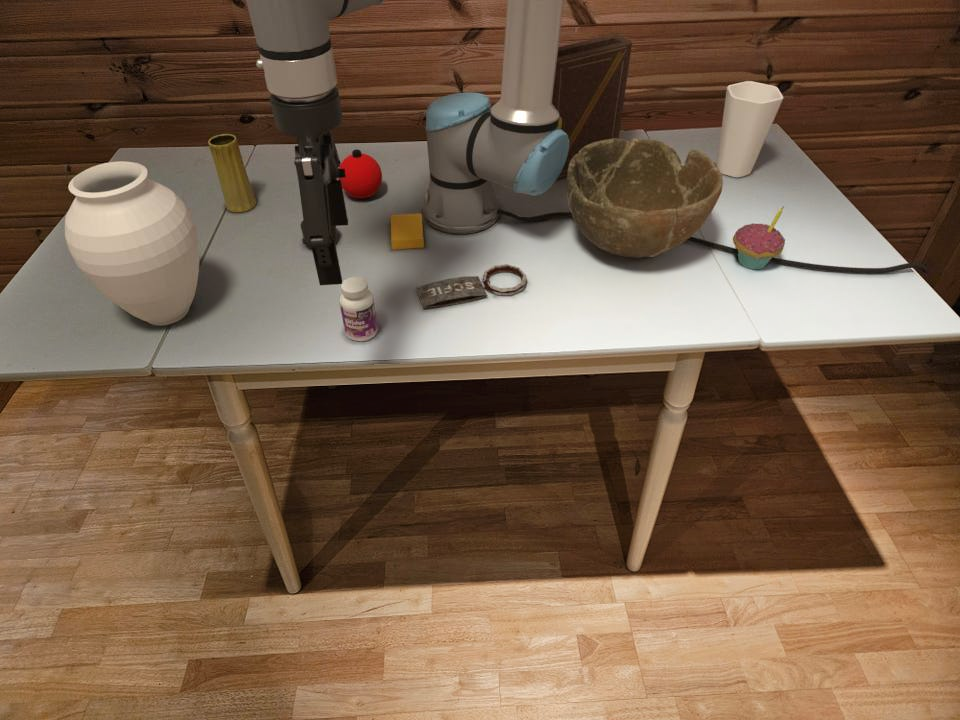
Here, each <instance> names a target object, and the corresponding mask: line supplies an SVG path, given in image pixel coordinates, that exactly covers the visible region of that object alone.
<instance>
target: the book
mask: <svg viewBox="0 0 960 720" xmlns="http://www.w3.org/2000/svg"><path fill="white" fill-rule="evenodd" d="M632 44H633V41H632V40H630V39H629V38H626V37H624V36H621V35H616V34H611V35H604V36H601V37H597V38H592V39H588V40H584V41H580V42H575V43H570V44H566V45H562V46H558V55H557V63H556V72H555V80H554V89H553V97H552V104H553V106H554V107H555V108H556V109H557V111H558V112H559V123H558V130H559V129H560V130H563V131H564V132H565V133H566V134H567V135H568V139H569V151H568V155H567V159H566V162H565V164H564V167H563V169H562V171H561V173H560V175H559V176H558V178H557V179H556V180H559V179H562V178H563V179H564V178H565V177H566V178H567V172H568V166H569V162H570V160H571V159H572V158H573V157H574V156H575V155H576V154H578V153H579V150H581V149H582V148H583V147H585V146H587V145H589V144H591V143H593V142H598V141H602V140H608V139H613V138H619V139H620V133H621V132H620V131H621V125H622V118H623V111H624V103H625V96H626V88H627V83H628V82H627V81H628V75H629V74H628V73H629V68H630V67H629V66H630V61H631V52H632Z"/></svg>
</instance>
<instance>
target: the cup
mask: <svg viewBox="0 0 960 720" xmlns="http://www.w3.org/2000/svg"><path fill="white" fill-rule="evenodd" d="M783 100H784V95H783V93H782V92H781V91H780V89H779V88H778V86H775V85H771V84H767V83H762V82H757V81H752V80H745V81H741V82H738V83H733V84H729V85H728V86H726V91H725V100H724V107H723V114H722V122H721V129H720V138H719V144H718V152H717V153H718V154H717V161H716V167H717V168H718V169H719V170H720V172H721V174H722V175H725V176H729V177H733V178H742V177H745V176H750V175H751V173H752V171H753V169H754V167H755V164H756V162H757V160H758V158H759V155H760V153H761V150H762V148H763V146H764V144H765V142H766V139H767V137H768V135H769V132H770V130H771V128H772V126H773V123H774V121H775V118H776V116H777V115H778V112H779V109H780V107H781V105H782V102H783Z"/></svg>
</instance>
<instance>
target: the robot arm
mask: <svg viewBox="0 0 960 720" xmlns="http://www.w3.org/2000/svg"><path fill="white" fill-rule="evenodd" d="M385 1H386V0H245V2H246V5H247V9H248V13H249V18H250V21H251V25H252V29H253V34H254V37H255V41H256V46H257V49H258V53H259V59H256V63H255V65H256V68H257V69H259V70H263V71H264V75H263V76H264V79H265V83H266V88H267V91H268V92H269V93H270V96H269V99H268V100H269V104H270V108H271V112H272V117H273V121H274V124H275V127H276V128H277V130H278V131H279V132H281V133H282V134H284V135H287V136H291V137H294V138H295V139H296V141H297V145H294V154H295V157H294V161H293V164H294V166H295V170H296V177H297V181H298V188H299V196H300V204H301V205H300V206H301V212H302V221H303V220H304V228H305V236H306V238H303V237H302V239H301V240H302V244H303V245H305V244H306V246H307V247H308V248H312V250H311V252H312V256H313V261H314V266H315V270H316V275H317V279H318V283H319V286H333V285H341V284H342V282H343V277H342V272H341V266H340V261H339V255H338V250H337V244H336V245H335V240H334V236H332V235H331V226H336V227H338V226H339V227H340V226H348V225H349V219H348V213H347V208H346V202H345V196H344V190H343V189H342V183H341V180H338V178H345V177H346V174H345V169H339V167H340V164H341V162H342V161H341V160H340V157H339V153H338V149H337V146H336V142H335V138H334V135H333V131H334V130H336V129H338V127H340V125H341V124H342V121H343V111H342V105H341V98H340V92H339V90H338V88H337V87H336V85H337V84H338V75H337V69H336V64H335V63H336V62H335V58H334V57H335V56H334V49H333V46H332V41H331V35H330V26H329V21H331V20H334V19H338V18H340V17H343V16H345V15H349V14H352V13H355V12H359V11H360V10H363V9H366V8H369V7H373V6H380V5H382V4H383V3H384V2H385ZM564 2H565V0H506V15H505V29H504V30H505V31H504V42H503V59H502V71H501V72H502V74H501V84H500V85H501V86H500V87H501V88H500V99H499V100H498V101H497V102H496V103H495V104H493V105H492V103H491V100H490V98H489V96H487V94H483V93H481V92H474V91H473V92H472V91H467V92H458V93H451V94H448V95H445V96H441V97H439V98H437V99H435V100H433V101H432V102H431V103H429V105H428V106H427V109H426V113H425V134H426V145H427V146H426V147H427V156H428V168H429V183H428V186H426V187H425V191H424V195H425V197H424V200H423V206H422V210H423V211H422V212H423V219H424V221H425V222H426V224H428V226H429V227H431V228H433V229H435V230H437V231H440V232H443V233H446V234H452V235H453V234H455V235H466V234H474V233H479V232H482V231H483V230H486V229H488V228H490V227H492V226H493V225H494V224H495V223H496V222H497V221H498V219H499V217H500V215H502V216H504V217H508V218H511V219H514V220H516V221H520V222H537V221H542V220H547V219H551V218H559V217H563V218H564V217H566V218H567V217H568V218H573V216H572V213H571V211H555V212H548V213H544V214H539V215H533V216H522V215H518V214H516V213H514V212H510V211H507V210H504V209H501V208H500V204H499V198H498V195H497V193H496V190H495V188H494V185H493V184H496V185H498V186H502V187H504V188H507V189H510V190H513V191H514V192H516V193H523V194H527V195H531V196H539V195H542V194H543V193H545V192H547V191H548V190H549V189H550V188H552V187H553V185H554V183H556V179H557V178H558V176H559V175H560V173H561V171H562V169H563V167H564V164H565V162H566V159H567V155H568V151H569V139H568V135H567V134H566V133H565V132H564V131H563V130H560V129H559V130H558V123H559V112H558V111H557V109H556V108H555V107H554V106H553V104H552V97H553V89H554V80H555V72H556V63H557V55H558V47H560V46H559V44H560V37H561V28H562V21H563V19H562V18H563V12H564ZM557 180H558V179H557ZM686 241H688V242H692V243H694V244H697V245H702V246H705V247H710V248H713V249H716V250H720V251H723V252H727V253H731V254H734V255H738V250H737V249H736V247H732V246H728V245H724V244H720V243H717V242H713V241H709V240H705V239H703V238H699V237H695V236H691V237H690V238H689V239H687V240H686ZM306 246H305V247H306ZM307 247H306V248H307ZM308 248H307V249H308ZM768 263H774V264H778V265H784V266H790V267H795V268H803V269H810V270H817V271H825V272H827V271H828V272H839V273H848V274H849V273H850V274H852V273H854V274H887V273H893V272H894V273H895V272H898V271H903V270H907V269H918V270H920V271H921V272H923V273H924V274H931V271H930V268H928V266H926V265H925V264H922V263H920V262H908V263H907V262H906V263H902V264H897V265H892V266H888V267H850V266H836V265H826V264H816V263H809V262H804V261H803V262H802V261H796V260H790V259H784V258H779V257H772V258H771V259H770V261H769V262H768Z"/></svg>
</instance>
